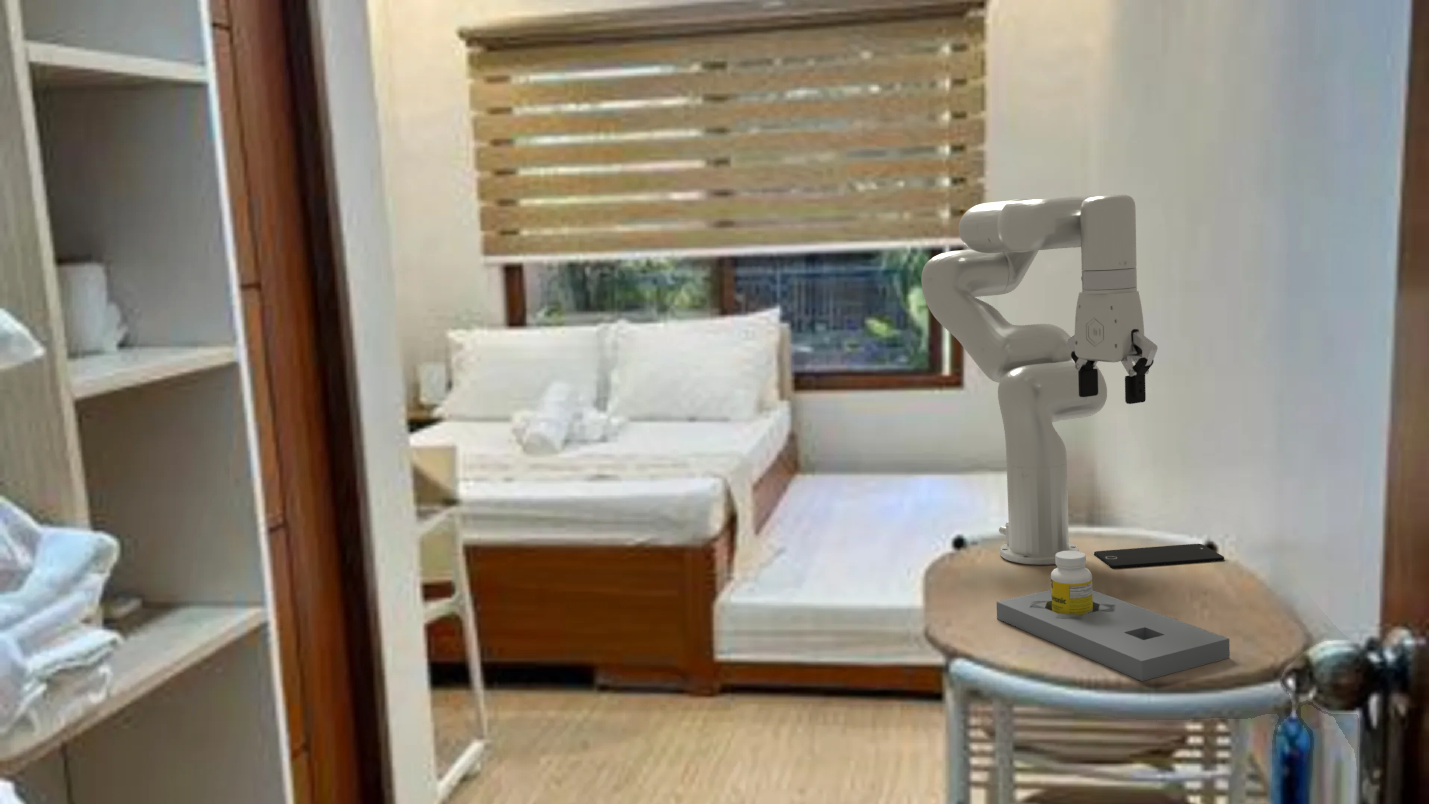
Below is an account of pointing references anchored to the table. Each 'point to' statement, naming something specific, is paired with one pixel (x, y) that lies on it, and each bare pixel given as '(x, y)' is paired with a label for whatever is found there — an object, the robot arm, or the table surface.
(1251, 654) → the table surface
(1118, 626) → the socket plate
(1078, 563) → the supplement bottle
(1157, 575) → the table surface
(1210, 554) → the cell phone
